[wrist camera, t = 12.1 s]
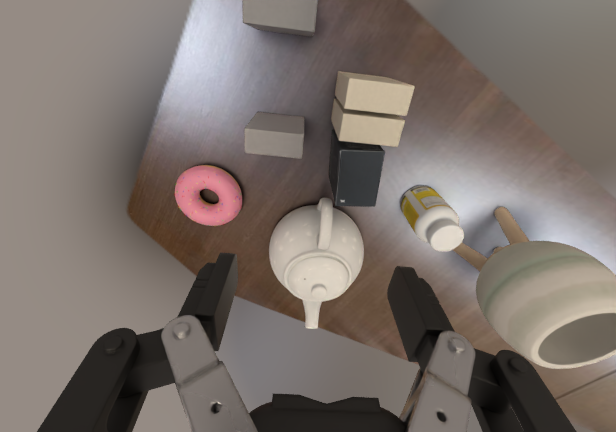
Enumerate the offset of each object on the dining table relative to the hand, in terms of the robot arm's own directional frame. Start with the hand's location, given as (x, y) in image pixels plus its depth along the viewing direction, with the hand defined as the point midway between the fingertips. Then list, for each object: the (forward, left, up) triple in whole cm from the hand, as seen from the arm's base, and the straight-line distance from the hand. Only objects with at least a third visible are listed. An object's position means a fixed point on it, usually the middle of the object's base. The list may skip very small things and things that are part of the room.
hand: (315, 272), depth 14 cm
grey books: (-6, -4, -32) cm, 33 cm away
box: (+4, +7, -32) cm, 33 cm away
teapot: (+21, +4, -32) cm, 39 cm away
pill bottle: (+11, +21, -32) cm, 40 cm away
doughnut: (+13, -15, -32) cm, 38 cm away
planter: (+17, +36, -32) cm, 51 cm away
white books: (-4, +7, -32) cm, 33 cm away
